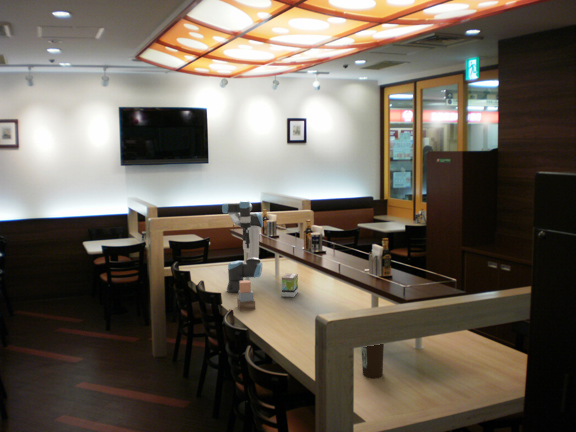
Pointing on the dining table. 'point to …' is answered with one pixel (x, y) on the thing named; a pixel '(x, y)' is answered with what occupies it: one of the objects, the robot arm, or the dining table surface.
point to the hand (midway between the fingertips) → (246, 250)
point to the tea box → (289, 285)
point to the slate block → (246, 296)
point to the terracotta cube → (245, 286)
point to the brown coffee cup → (372, 361)
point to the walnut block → (245, 305)
